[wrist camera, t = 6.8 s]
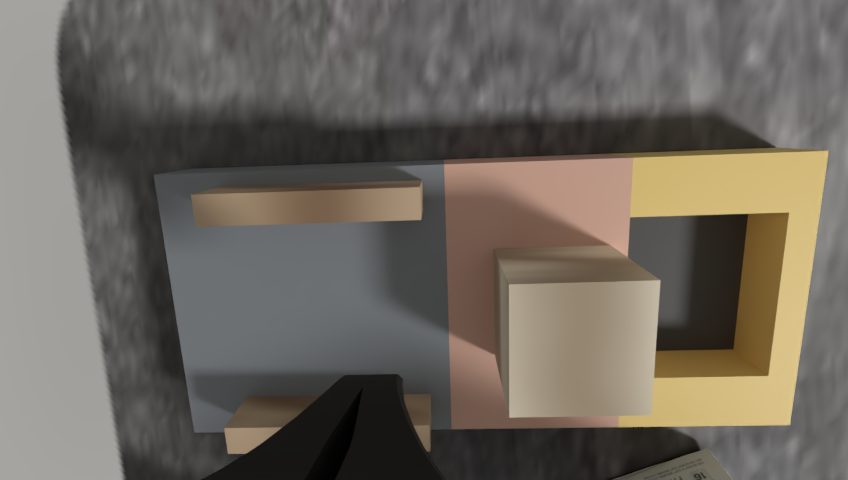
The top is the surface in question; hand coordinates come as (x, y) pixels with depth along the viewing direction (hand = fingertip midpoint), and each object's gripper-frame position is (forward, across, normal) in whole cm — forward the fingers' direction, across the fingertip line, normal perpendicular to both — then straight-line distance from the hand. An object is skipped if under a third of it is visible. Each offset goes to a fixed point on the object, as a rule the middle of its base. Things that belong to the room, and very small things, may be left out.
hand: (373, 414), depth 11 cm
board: (+9, -3, 0) cm, 10 cm away
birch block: (+7, -5, 0) cm, 9 cm away
